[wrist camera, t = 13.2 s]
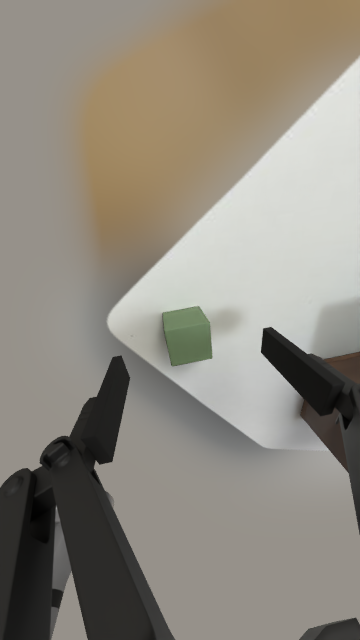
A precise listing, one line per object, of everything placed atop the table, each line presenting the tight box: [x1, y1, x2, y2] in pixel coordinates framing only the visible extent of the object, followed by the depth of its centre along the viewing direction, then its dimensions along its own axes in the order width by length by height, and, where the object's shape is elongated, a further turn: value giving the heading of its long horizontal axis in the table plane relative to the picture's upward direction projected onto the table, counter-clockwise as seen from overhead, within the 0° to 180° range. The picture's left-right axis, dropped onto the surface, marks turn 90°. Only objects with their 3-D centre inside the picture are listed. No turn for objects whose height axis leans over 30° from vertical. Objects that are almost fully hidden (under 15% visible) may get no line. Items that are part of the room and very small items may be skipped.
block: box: [163, 306, 212, 366], centre depth 18 cm, size 4×4×4 cm
